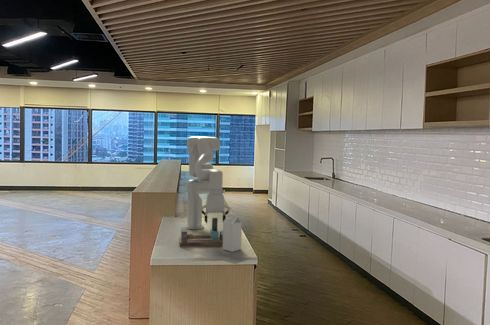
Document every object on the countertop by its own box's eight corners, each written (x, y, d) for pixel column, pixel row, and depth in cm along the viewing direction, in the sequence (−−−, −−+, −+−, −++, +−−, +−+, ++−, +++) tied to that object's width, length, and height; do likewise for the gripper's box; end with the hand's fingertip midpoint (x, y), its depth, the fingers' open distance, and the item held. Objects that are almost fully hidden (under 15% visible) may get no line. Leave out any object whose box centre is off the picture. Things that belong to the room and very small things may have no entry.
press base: (179, 241, 252) (179, 227, 251) (222, 240, 256) (223, 226, 255) (179, 246, 240) (179, 231, 240) (225, 245, 244) (225, 231, 244)
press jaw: (210, 237, 252) (210, 217, 251) (217, 237, 253) (217, 217, 252) (211, 240, 245) (211, 219, 244) (218, 240, 246) (219, 219, 245)
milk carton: (231, 247, 242) (232, 212, 240) (241, 249, 237) (242, 214, 236) (222, 249, 236) (223, 214, 235) (232, 252, 232) (233, 216, 231)
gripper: (230, 191, 252) (229, 221, 253) (199, 191, 249) (199, 221, 250) (231, 193, 245) (231, 223, 246) (200, 193, 242) (200, 224, 243)
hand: (215, 222), depth 248 cm, fingers open, 9 cm apart
